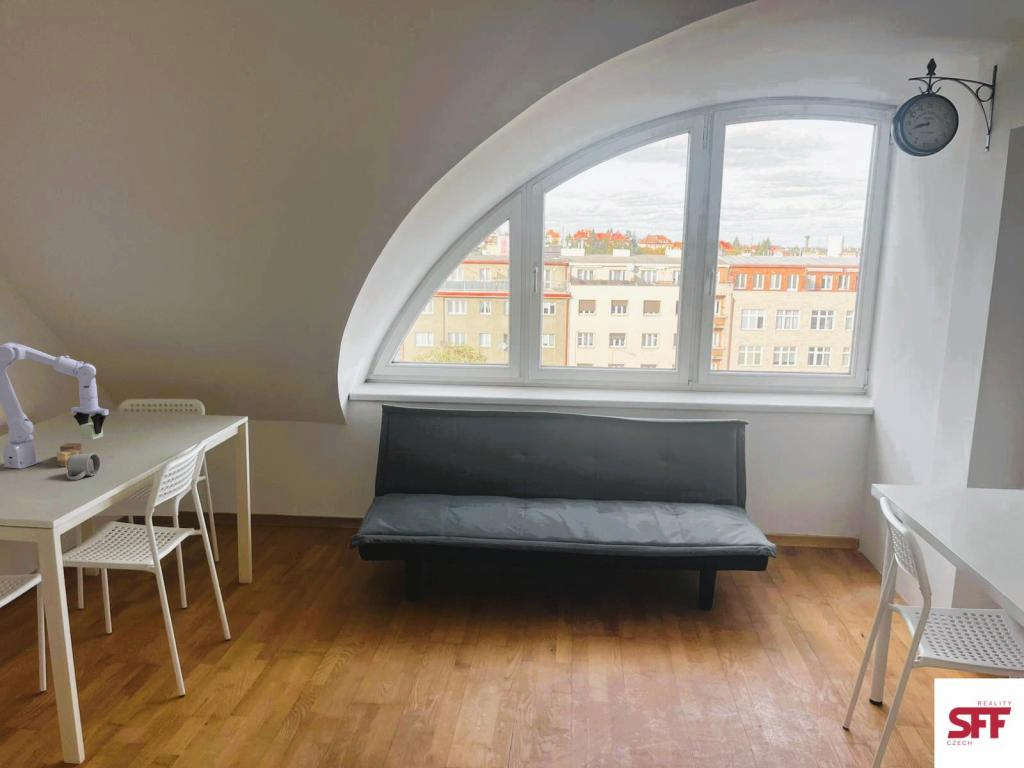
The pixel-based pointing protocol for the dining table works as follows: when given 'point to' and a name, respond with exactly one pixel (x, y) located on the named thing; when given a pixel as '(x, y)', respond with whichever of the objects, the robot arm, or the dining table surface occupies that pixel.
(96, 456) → the ceramic mug
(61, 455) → the oak block
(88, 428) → the sage block
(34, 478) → the dining table surface
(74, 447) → the walnut block
